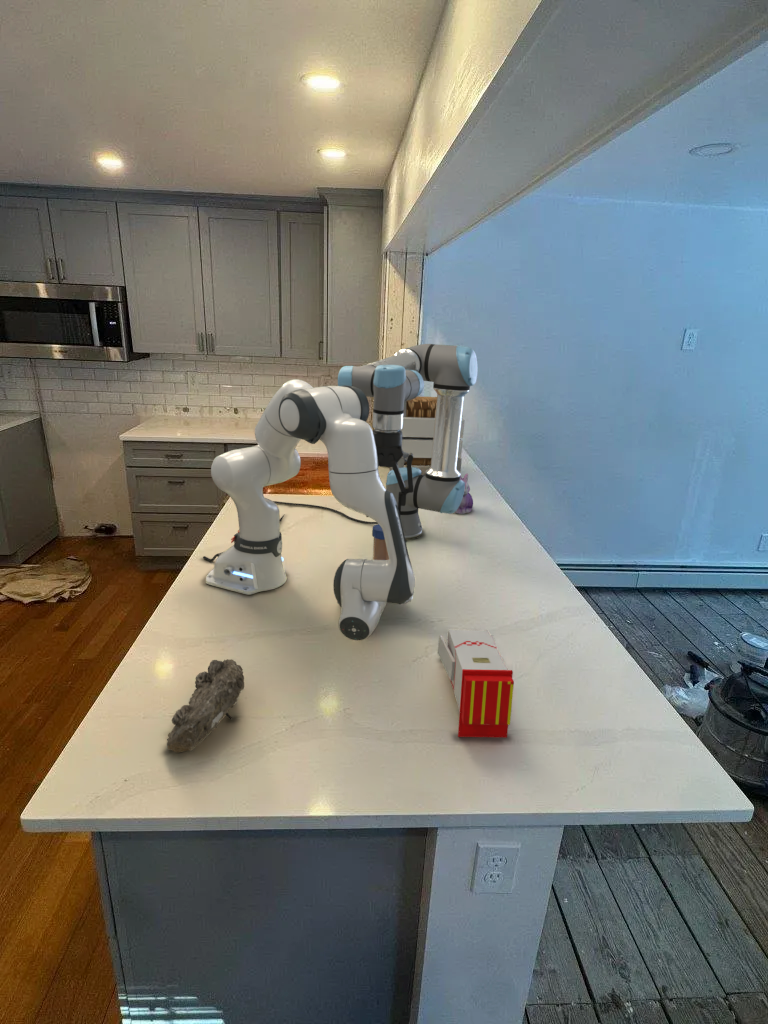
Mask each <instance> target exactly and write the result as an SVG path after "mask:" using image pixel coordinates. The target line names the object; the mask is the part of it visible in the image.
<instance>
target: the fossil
mask: <svg viewBox="0 0 768 1024" xmlns="http://www.w3.org/2000/svg"><path fill="white" fill-rule="evenodd" d="M243 670H244V669H243V667H242V665H240V664H237V662H236V661H235V660H234V659H232V658H231V659H227V658H226V659H224V660H223V661H222V660H217V659H212V660H211V661H210V663H209V665H208V666H207V671H201V672H199V673H198V674H197V675H196V676H195V680H194V684H195V685H194V687H195V689H194V690H193V693H192V694H191V697H190V698H189V700H188V704H184V705H182V706H181V707H180V709H177V710H176V711H175V713H174V715H173V716H172V718H171V723H172V724H173V727H172V730H171V731H170V732H168V734H167V738H166V741H167V742H166V745H167V749H168V750H169V751H173V752H174V753H176V754H178V753H182V752H188V751H189V752H192V751H193V750H195V748H196V747H197V746H199V744H200V743H201V742H203V741H204V740H205V739H206V738H207V737H208V736H209V735H210V734H211V733H212V732H214V730H215V729H217V727H218V726H219V724H220V722H221V721H222V720H223V719H224V718H225V716H226V717H227V719H229V720H233V717H232V715H230V714H229V710H230V709H231V708H234V706H235V704H236V703H237V702H238V699H239V697H240V695H241V693H242V691H243V690H245V689H244V688H245V675H244V671H243Z"/></svg>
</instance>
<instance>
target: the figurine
mask: <svg viewBox="0 0 768 1024" xmlns="http://www.w3.org/2000/svg"><path fill="white" fill-rule="evenodd" d="M460 480H462V481H464V483H465V490H464V495H463V498H462V501H461V503H460V506H459V507H458V509H457V510H456V512H454V513H455V514H460V515H464V514H469V513H471V512H472V511H473V507H474V499H473V496H472V495H471V493H470V491H471V487H470V484H469V482H468V480H469V473H465V474H464V476H463V477H462V475H461V474H460Z"/></svg>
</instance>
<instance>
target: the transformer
mask: <svg viewBox="0 0 768 1024" xmlns="http://www.w3.org/2000/svg"><path fill="white" fill-rule="evenodd" d="M436 403H437V396H417V397H416V398H415V399H413V400H412V399H411V400H408V401H404V414H403V428H402V429H401V431H402V450H403V452H405V453H413V460H412V467H417V466H418V467H431V457H432V446H433V436H434V425H435V414H436ZM464 429H465V419H464V418H462V420H461V430H460V439H459V449H458V458H457V467H456V469H457V470H458V472H459V473H460V475H461V472H462V461H463V460H462V453H463V442H464V441H463V440H462V439H463V438H464V431H465V430H464ZM397 463H398V467H399V468H403V467H405V466H407V462H405V461H404V457H401V459H400V460H399V461H398V462H397ZM391 470H393V468H392V467H389V472H390V471H391Z"/></svg>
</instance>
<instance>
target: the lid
mask: <svg viewBox="0 0 768 1024" xmlns="http://www.w3.org/2000/svg"><path fill="white" fill-rule="evenodd" d="M371 530H372V531H371V532H372V533H371V536H372V537H373V539H374V538H377V539H382V540H385V537H384V533H383V530H382V528H381V526H380V525H379V524H373V526H372V529H371Z"/></svg>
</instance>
